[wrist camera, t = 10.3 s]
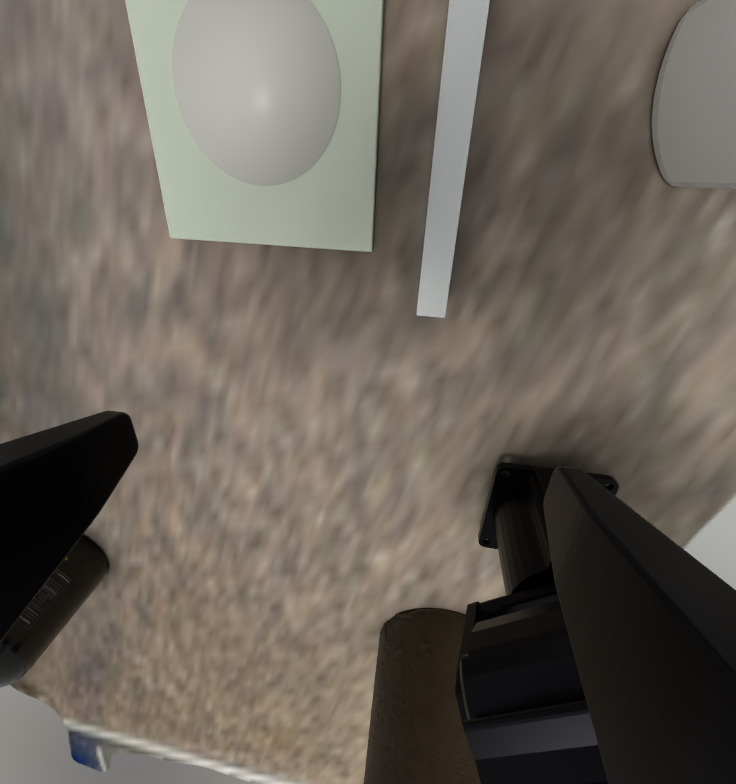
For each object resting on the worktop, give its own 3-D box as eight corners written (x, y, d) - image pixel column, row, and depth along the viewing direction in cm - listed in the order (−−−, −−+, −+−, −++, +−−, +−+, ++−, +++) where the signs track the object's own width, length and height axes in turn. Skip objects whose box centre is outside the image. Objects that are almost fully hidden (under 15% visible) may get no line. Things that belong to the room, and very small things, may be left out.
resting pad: (372, 250, 19) (371, 252, 18) (174, 236, 20) (169, 238, 19) (390, -135, 13) (388, -147, 12) (108, -125, 14) (98, -135, 14)
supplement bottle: (103, 588, 37) (-28, 753, 26) (32, 555, 36) (-134, 712, 25) (118, 549, 33) (-26, 719, 23) (40, 511, 32) (-148, 670, 22)
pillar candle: (383, 598, 31) (347, 900, 18) (510, 619, 30) (567, 955, 17) (377, 664, 36) (344, 941, 23) (486, 684, 35) (517, 987, 22)
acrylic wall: (443, 298, 19) (444, 317, 17) (419, 296, 19) (416, 315, 17) (517, -244, 12) (542, -368, 9) (475, -242, 12) (487, -363, 9)
